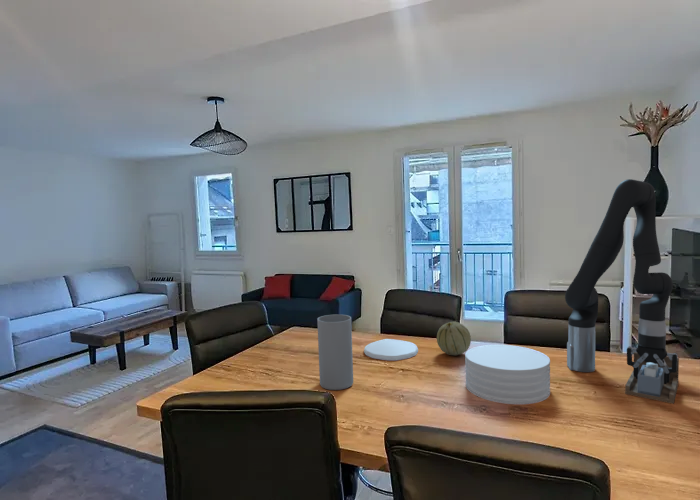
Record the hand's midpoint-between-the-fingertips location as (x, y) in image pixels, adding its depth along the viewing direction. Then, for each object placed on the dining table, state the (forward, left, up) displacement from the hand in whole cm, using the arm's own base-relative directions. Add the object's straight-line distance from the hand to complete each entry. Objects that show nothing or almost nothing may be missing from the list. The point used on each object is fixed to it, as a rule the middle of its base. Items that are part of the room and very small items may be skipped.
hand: (651, 380), depth 143 cm
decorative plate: (-93, +30, -5) cm, 98 cm away
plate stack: (-46, -4, -4) cm, 46 cm away
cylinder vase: (-106, -13, -4) cm, 107 cm away
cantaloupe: (-65, +30, -4) cm, 72 cm away
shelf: (+2, +4, -4) cm, 6 cm away
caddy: (0, 0, -3) cm, 3 cm away
